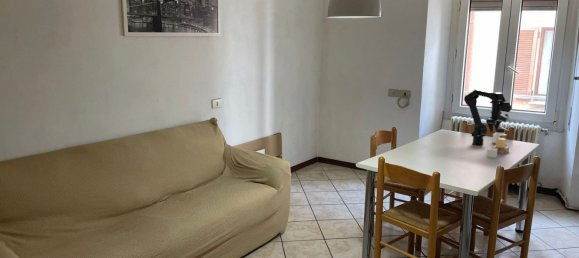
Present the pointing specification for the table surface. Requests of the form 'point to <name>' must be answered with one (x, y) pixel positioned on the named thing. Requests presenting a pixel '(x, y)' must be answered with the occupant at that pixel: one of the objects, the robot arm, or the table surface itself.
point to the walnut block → (501, 150)
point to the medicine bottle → (499, 134)
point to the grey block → (492, 152)
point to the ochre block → (500, 142)
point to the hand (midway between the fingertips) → (494, 131)
